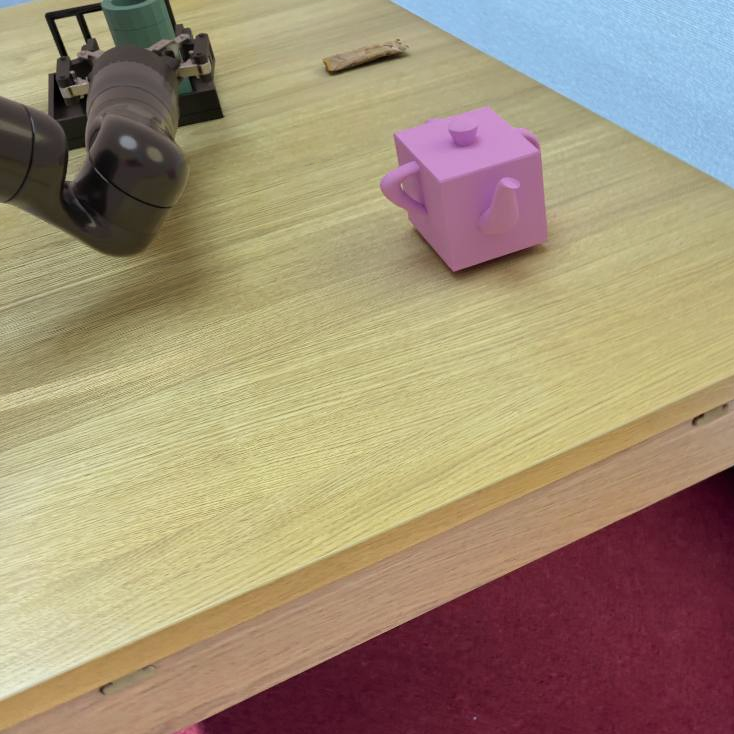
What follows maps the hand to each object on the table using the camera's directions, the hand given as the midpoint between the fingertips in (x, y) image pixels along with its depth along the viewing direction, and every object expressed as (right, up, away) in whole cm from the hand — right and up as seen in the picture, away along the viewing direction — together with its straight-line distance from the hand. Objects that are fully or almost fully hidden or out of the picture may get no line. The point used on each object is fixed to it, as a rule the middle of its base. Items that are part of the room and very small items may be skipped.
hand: (139, 41), depth 104 cm
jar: (0, -3, +8) cm, 9 cm away
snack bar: (+20, +5, +14) cm, 25 cm away
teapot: (+34, -25, -15) cm, 45 cm away
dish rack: (-4, -3, +10) cm, 11 cm away
